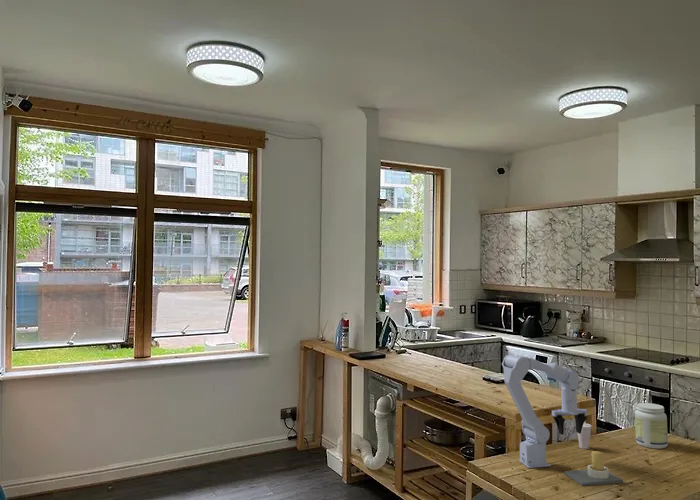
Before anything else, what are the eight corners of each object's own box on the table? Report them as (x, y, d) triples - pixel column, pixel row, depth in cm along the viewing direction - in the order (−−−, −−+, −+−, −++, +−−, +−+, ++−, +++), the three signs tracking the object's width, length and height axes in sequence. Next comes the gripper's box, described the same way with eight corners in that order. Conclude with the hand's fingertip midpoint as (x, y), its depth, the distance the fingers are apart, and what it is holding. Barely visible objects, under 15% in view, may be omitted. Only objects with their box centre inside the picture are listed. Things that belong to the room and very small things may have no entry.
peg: (596, 477, 188) (595, 455, 189) (589, 473, 192) (589, 451, 193) (606, 476, 189) (605, 454, 189) (599, 472, 193) (599, 450, 193)
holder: (582, 485, 184) (582, 475, 184) (564, 474, 194) (564, 464, 194) (623, 482, 186) (622, 472, 186) (603, 471, 197) (603, 461, 197)
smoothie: (594, 450, 220) (593, 417, 220) (578, 449, 221) (577, 416, 222) (590, 445, 226) (589, 413, 227) (574, 444, 227) (573, 412, 228)
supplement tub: (670, 444, 227) (669, 405, 228) (664, 451, 218) (663, 410, 219) (639, 438, 235) (638, 400, 236) (632, 445, 226) (631, 406, 227)
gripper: (558, 402, 205) (559, 437, 205) (591, 400, 208) (592, 435, 207) (548, 398, 212) (549, 432, 212) (580, 396, 215) (581, 430, 214)
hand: (569, 433), depth 210 cm, fingers open, 7 cm apart
